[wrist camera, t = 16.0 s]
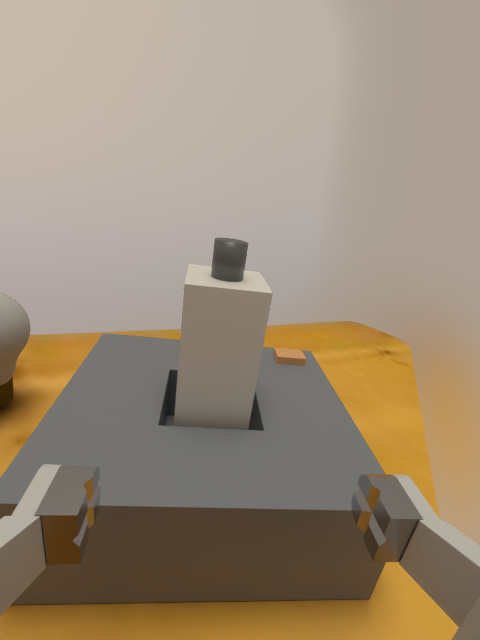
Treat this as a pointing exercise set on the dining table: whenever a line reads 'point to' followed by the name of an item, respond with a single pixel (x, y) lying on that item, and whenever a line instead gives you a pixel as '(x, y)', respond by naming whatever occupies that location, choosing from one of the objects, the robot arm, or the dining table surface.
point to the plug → (221, 340)
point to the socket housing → (203, 485)
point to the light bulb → (11, 342)
